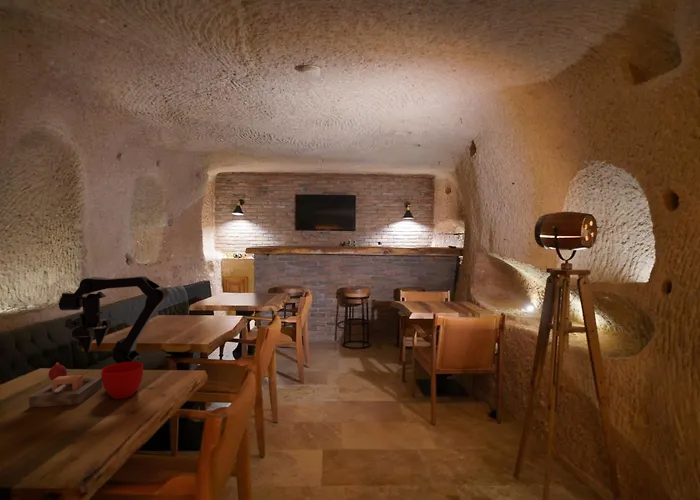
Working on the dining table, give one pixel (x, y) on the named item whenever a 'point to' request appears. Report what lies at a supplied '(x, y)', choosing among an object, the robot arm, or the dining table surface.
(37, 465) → the dining table surface
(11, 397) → the dining table surface
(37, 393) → the grey flat frame
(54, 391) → the hook rod
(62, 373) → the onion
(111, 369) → the red bowl
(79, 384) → the orange arch block
